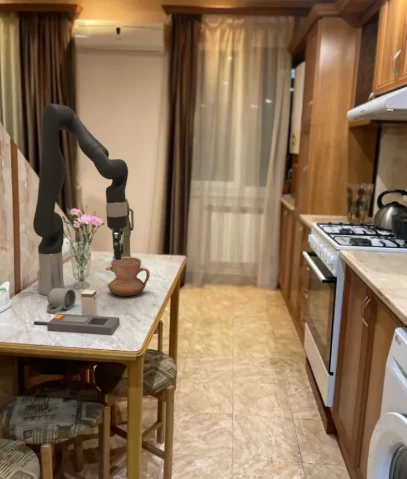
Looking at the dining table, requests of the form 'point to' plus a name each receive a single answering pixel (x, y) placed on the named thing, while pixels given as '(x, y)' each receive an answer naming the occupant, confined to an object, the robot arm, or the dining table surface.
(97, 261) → the dining table surface
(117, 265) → the ceramic jug
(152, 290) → the dining table surface
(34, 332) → the dining table surface
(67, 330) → the power strip
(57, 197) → the robot arm
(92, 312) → the block
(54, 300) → the ceramic mug
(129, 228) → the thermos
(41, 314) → the dining table surface
